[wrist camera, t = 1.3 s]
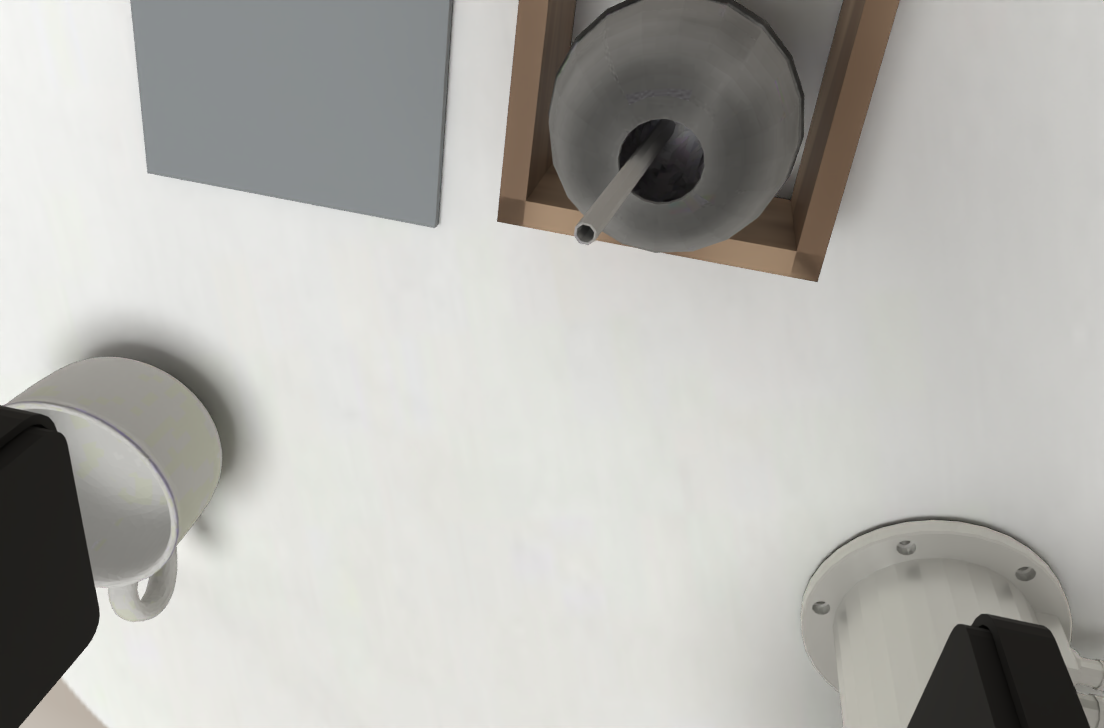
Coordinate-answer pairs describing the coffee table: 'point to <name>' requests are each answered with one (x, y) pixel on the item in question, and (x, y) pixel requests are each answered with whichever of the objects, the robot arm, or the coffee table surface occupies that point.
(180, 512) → the teacup
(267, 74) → the slate mat
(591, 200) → the beverage cup
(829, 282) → the coffee table surface
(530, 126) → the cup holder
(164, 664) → the coffee table surface
